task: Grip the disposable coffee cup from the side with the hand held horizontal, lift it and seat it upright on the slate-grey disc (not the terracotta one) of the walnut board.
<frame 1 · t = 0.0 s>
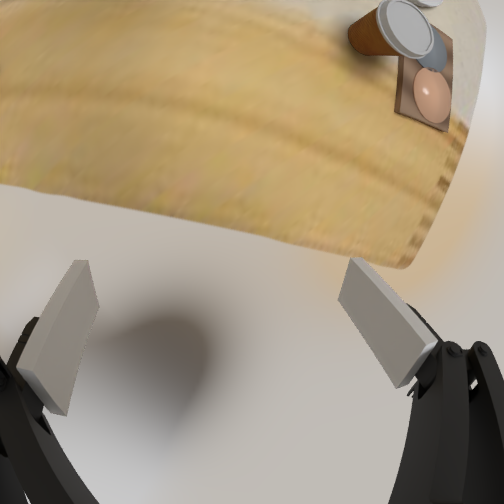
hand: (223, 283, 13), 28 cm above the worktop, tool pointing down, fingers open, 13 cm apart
disposable coffee cup: (363, 39, 30), on the worktop
walnut board: (425, 69, 33), on the worktop
terracotta disc: (432, 95, 35), resting on walnut board
slate disc: (427, 45, 30), resting on walnut board
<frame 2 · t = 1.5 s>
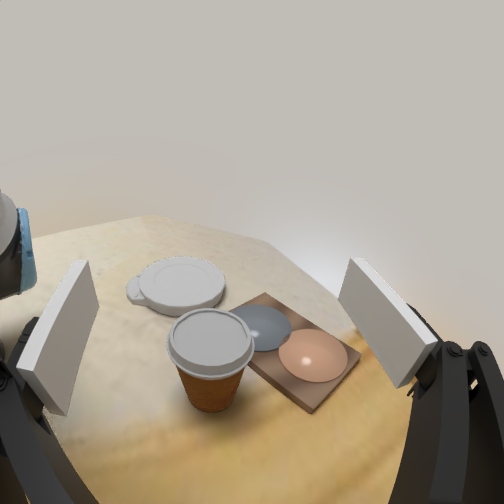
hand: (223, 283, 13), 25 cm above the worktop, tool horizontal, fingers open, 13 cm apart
disposable coffee cup: (210, 393, 33), on the worktop
walnut board: (283, 347, 42), on the worktop
lid: (175, 291, 53), on the worktop
terracotta disc: (313, 354, 39), resting on walnut board
slate disc: (258, 327, 44), resting on walnut board
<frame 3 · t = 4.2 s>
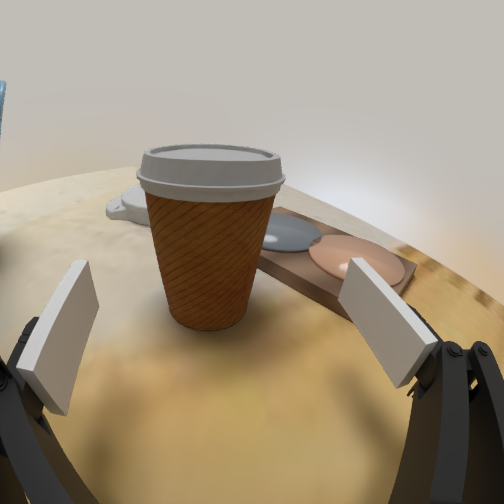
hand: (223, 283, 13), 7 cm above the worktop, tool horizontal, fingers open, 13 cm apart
disposable coffee cup: (207, 306, 22), on the worktop
walnut board: (312, 256, 31), on the worktop
lid: (166, 210, 42), on the worktop
terracotta disc: (357, 259, 28), resting on walnut board
slate disc: (276, 231, 33), resting on walnut board
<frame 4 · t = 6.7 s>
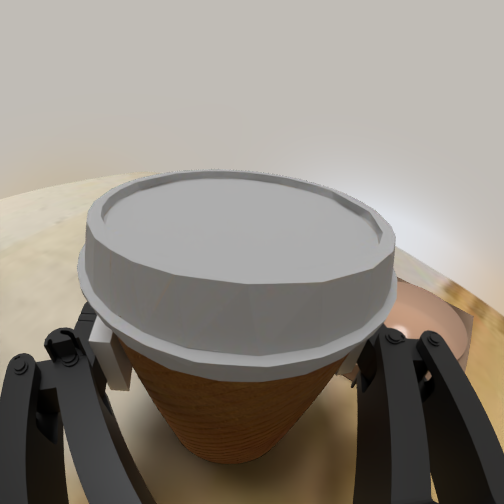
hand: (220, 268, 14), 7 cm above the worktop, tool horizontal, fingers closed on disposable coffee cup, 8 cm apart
disposable coffee cup: (227, 417, 13), on the worktop, touching gripper
walnut board: (357, 313, 22), on the worktop
terracotta disc: (414, 320, 19), resting on walnut board
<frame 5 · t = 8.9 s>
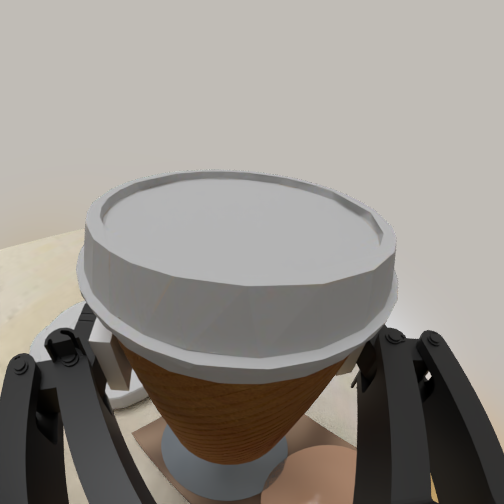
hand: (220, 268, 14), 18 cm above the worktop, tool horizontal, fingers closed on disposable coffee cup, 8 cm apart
disposable coffee cup: (227, 417, 13), point 11 cm above the worktop, touching gripper
walnut board: (271, 478, 17), on the worktop
lid: (98, 356, 28), on the worktop
terracotta disc: (326, 497, 14), resting on walnut board
slate disc: (224, 447, 19), resting on walnut board
when the fingers open (10 cm above the worktop, at t = 11.5 s): disposable coffee cup moves 1 cm, point 2 cm above the worktop.
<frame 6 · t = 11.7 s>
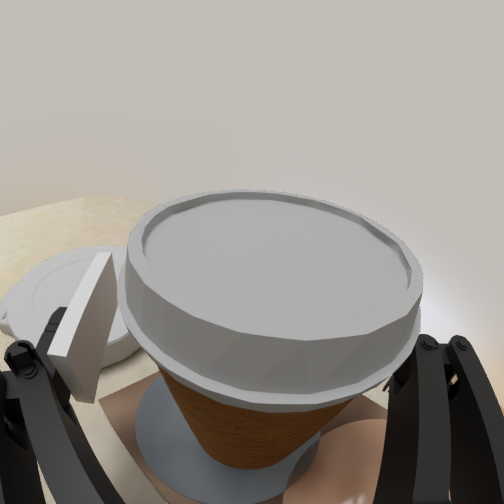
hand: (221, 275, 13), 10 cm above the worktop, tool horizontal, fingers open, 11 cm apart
disposable coffee cup: (247, 424, 14), point 2 cm above the worktop, touching gripper
walnut board: (296, 472, 12), on the worktop
lid: (76, 312, 23), on the worktop
terracotta disc: (377, 494, 9), resting on walnut board
slate disc: (227, 424, 14), resting on walnut board
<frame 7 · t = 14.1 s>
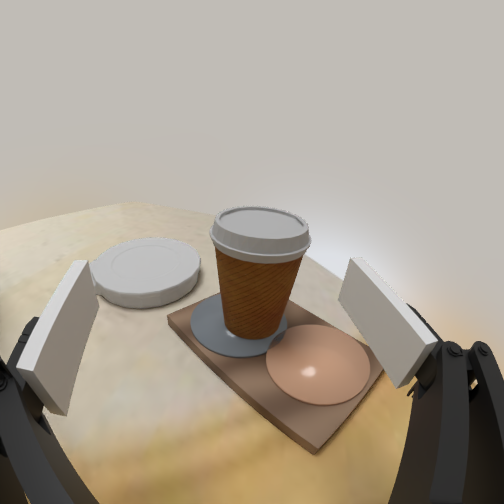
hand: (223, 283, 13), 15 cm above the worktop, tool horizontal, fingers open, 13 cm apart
disposable coffee cup: (251, 322, 30), point 2 cm above the worktop, touching slate disc
walnut board: (275, 351, 29), on the worktop
lid: (139, 278, 40), on the worktop
terracotta disc: (319, 362, 26), resting on walnut board
slate disc: (238, 322, 31), resting on walnut board
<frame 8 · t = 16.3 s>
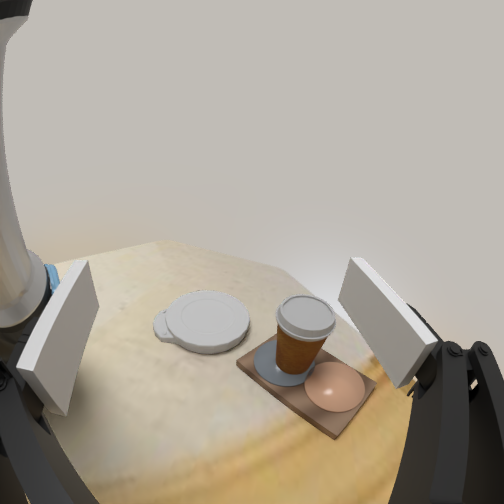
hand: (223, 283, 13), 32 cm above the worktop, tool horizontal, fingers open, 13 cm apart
disposable coffee cup: (292, 362, 46), point 2 cm above the worktop, touching slate disc
walnut board: (307, 379, 44), on the worktop
lid: (201, 326, 55), on the worktop
terracotta disc: (335, 386, 41), resting on walnut board
slate disc: (284, 362, 46), resting on walnut board
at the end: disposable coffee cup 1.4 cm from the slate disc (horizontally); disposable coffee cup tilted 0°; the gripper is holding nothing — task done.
